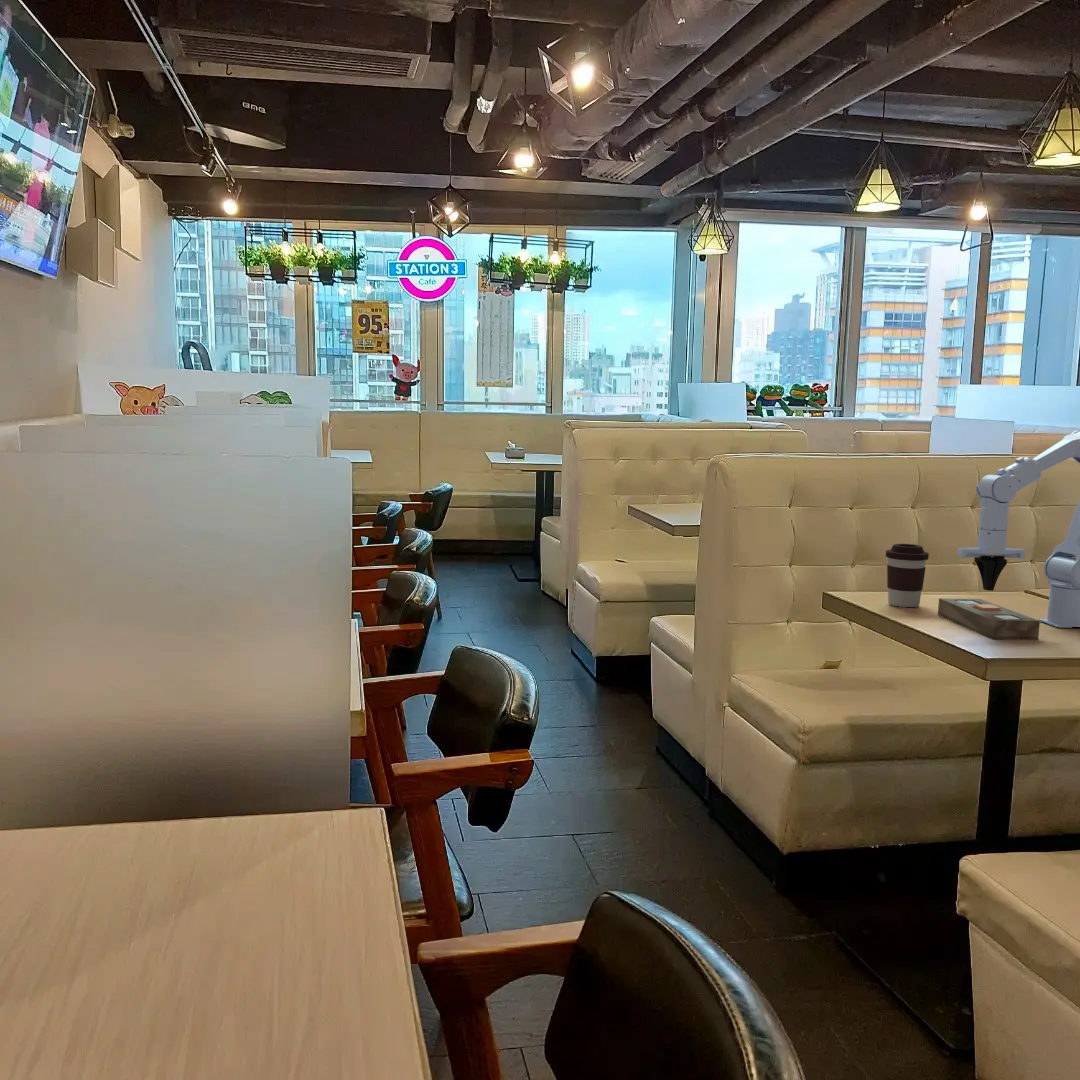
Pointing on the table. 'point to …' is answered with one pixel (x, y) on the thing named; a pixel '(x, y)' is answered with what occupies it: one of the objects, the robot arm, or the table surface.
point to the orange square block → (986, 607)
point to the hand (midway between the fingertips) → (988, 589)
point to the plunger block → (989, 620)
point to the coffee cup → (905, 574)
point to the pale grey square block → (1005, 617)
